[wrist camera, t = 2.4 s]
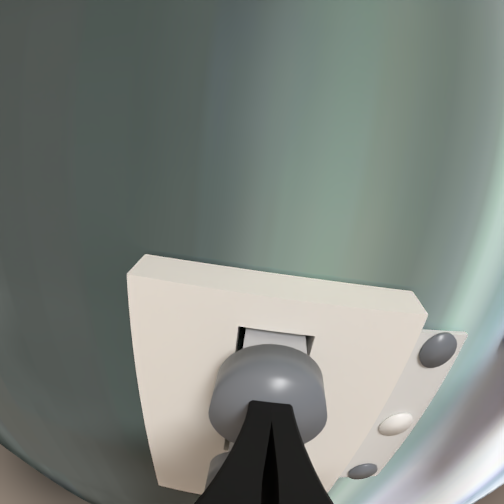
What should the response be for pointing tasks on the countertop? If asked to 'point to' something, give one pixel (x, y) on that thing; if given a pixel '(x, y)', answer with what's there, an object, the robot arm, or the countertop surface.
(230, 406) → the button
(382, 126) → the countertop surface
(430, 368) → the card
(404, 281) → the countertop surface
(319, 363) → the board
